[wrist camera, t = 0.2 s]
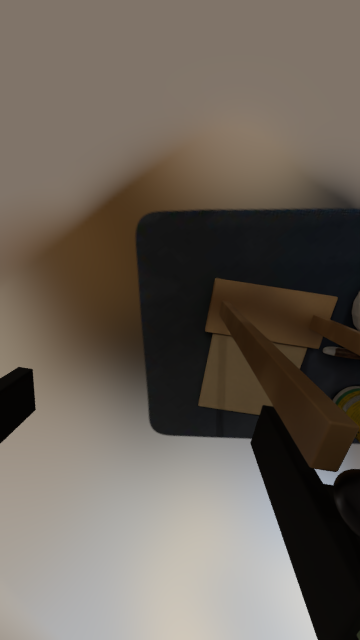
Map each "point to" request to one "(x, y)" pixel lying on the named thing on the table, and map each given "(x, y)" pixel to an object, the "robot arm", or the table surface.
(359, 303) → the cup
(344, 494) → the tilting tray
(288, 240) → the table surface
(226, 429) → the table surface
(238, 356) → the mat
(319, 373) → the table surface
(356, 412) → the supplement bottle
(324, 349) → the pocket knife
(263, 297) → the scoop stand
